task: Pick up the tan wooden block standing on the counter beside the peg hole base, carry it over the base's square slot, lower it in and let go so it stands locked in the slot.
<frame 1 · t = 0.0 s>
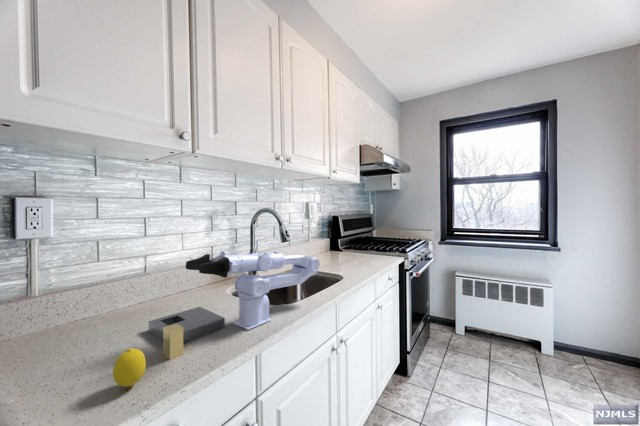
hand: (192, 267, 70), 22 cm above the worktop, tool horizontal, fingers open, 7 cm apart
tan wooden block: (173, 354, 66), on the worktop
lemon: (129, 387, 54), on the worktop
peg hole base: (187, 329, 81), on the worktop
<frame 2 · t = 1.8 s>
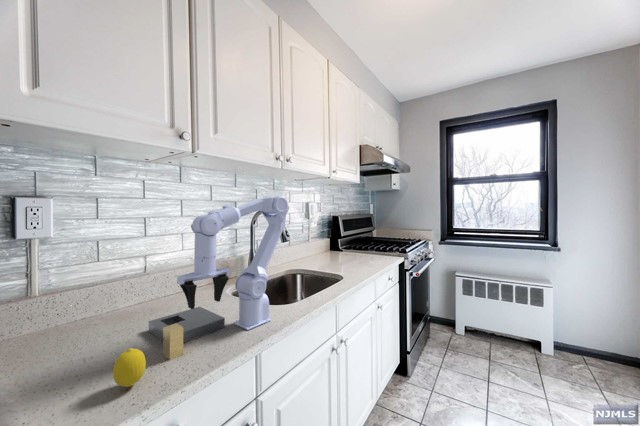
hand: (204, 304, 74), 10 cm above the worktop, tool pointing down, fingers open, 7 cm apart
nothing on the worktop moved.
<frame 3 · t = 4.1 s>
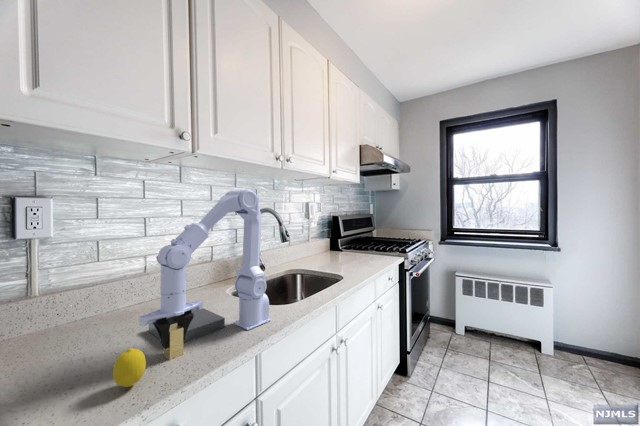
hand: (173, 344, 66), 3 cm above the worktop, tool pointing down, fingers closed on tan wooden block, 3 cm apart
tan wooden block: (173, 354, 66), on the worktop, touching gripper
everything else where it was.
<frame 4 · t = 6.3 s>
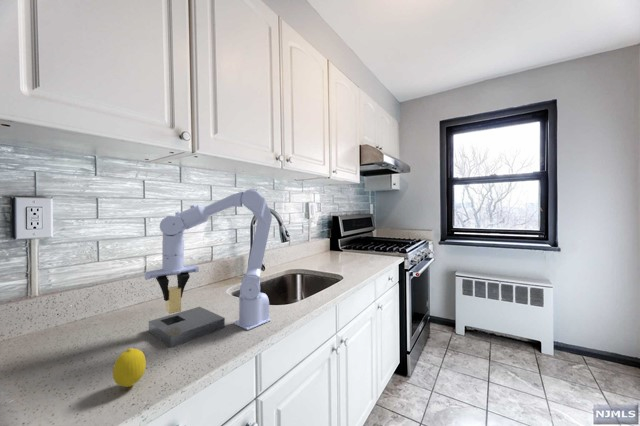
hand: (172, 298, 80), 10 cm above the worktop, tool pointing down, fingers closed on tan wooden block, 3 cm apart
tan wooden block: (173, 310, 79), point 6 cm above the worktop, touching gripper
everything else where it was.
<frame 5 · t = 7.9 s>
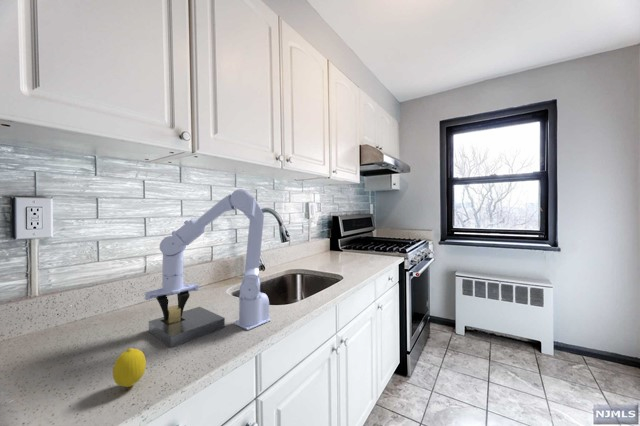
hand: (172, 317, 80), 4 cm above the worktop, tool pointing down, fingers closed on tan wooden block, 3 cm apart
tan wooden block: (173, 330, 80), resting in peg hole base, touching gripper
everything else where it was.
when the fingers open (4 cm above the worktop, at t = 8.6 s): tan wooden block stays where it is, resting in peg hole base.
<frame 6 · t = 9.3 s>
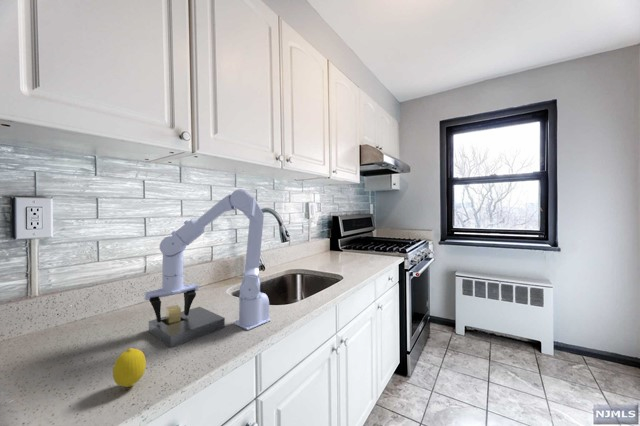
hand: (172, 317, 80), 4 cm above the worktop, tool pointing down, fingers open, 7 cm apart
tan wooden block: (173, 330, 80), resting in peg hole base
everything else where it was.
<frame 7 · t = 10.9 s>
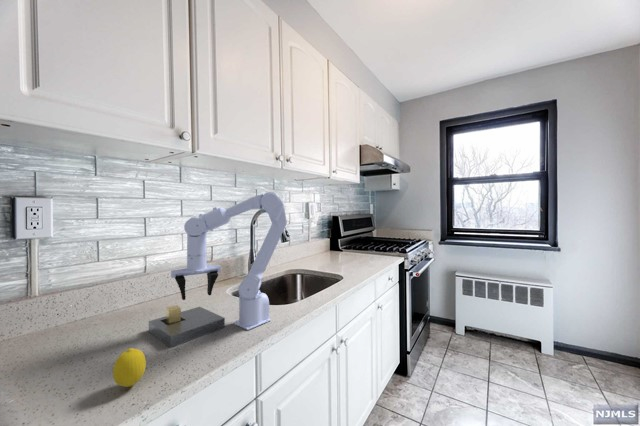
hand: (196, 296, 83), 9 cm above the worktop, tool pointing down, fingers open, 7 cm apart
nothing on the worktop moved.
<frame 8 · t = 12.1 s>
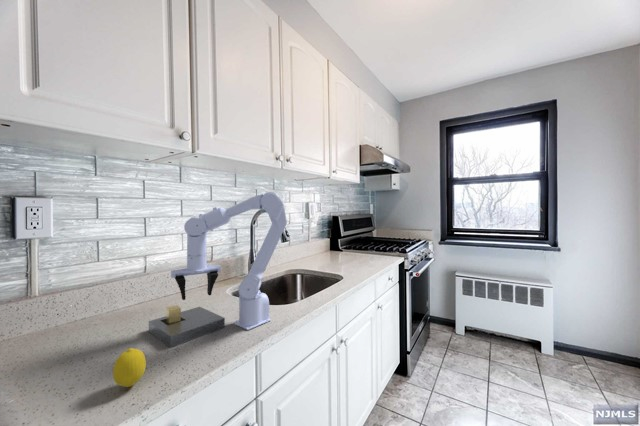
hand: (196, 296, 83), 9 cm above the worktop, tool pointing down, fingers open, 7 cm apart
nothing on the worktop moved.
at the end: tan wooden block 0.4 cm from the target spot on the peg hole base, point 0.0 cm above the peg hole base's base; tan wooden block tilted 0°; the gripper is holding nothing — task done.
